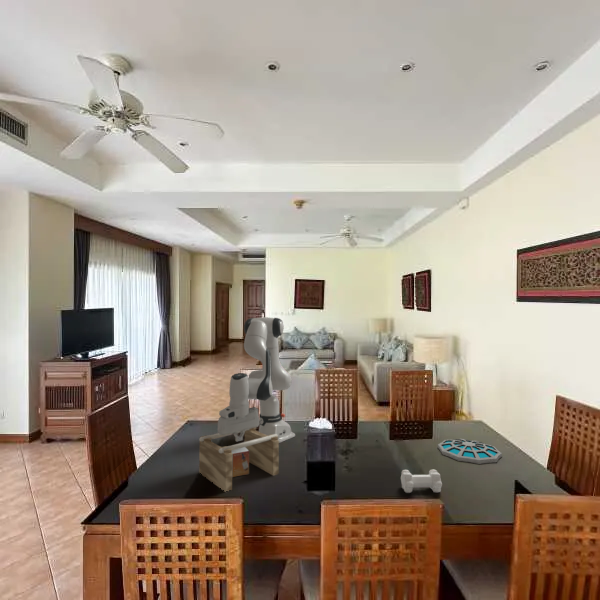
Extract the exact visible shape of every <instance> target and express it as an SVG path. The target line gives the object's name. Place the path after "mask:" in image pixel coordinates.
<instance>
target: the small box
mask: <svg viewBox="0 0 600 600" xmlns="http://www.w3.org/2000/svg"><path fill="white" fill-rule="evenodd" d="M231 453H232V478H234V477H239V476H245V475H249V474H250V462H249V450H248V449H247V448H246V447H243V448H239V449H236V450H232V451H231Z"/></svg>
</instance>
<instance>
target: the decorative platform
mask: <svg viewBox="0 0 600 600" xmlns="http://www.w3.org/2000/svg"><path fill="white" fill-rule="evenodd" d="M437 449H438V450H439V451H440V452H441V455H442V456H446V457H448V458H450V459H454V460H456V461H457V462H464V463H465V462H466V463H471V464H477V465H481V464H490V463H491V464H493V463H494V464H495V463H497V462H498V461H499V460H500V459H501V458H503V453H502V452H501V451H499V450H498V448H496V447H495V446H493V445H490V444H487V443H484V442H482V441H479V440H471V439H464V438H458V439H457V438H455V439H454V438H453V439H444V440H443V441H441V442H439V443H438V444H437Z"/></svg>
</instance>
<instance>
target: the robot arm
mask: <svg viewBox="0 0 600 600" xmlns="http://www.w3.org/2000/svg"><path fill="white" fill-rule="evenodd" d="M284 326H285V325H284V322H283V320H282V319H281V318H280V317H279V318H278V317H267V316H264V317H250V318H248V319H246V320H245V322H244V325H243V331H244V334H245V338H244V341H243V342H244V343H243V348H244V351H245V353H246V354H247V355H248V356H250V357H251V358H253V359H256V360H258V361H260V363H261V364H262V366H261V367H262V369H256V370H252V371H250V373H249V375H248V374H247V373H243V372H238V373H234V374H232V375H231V376H230V382H229V397H230V399H229V405H228V406H227V407H225V408H222V409H221V410H220V411H219V412H218V414H219V416H220V417H219V418H218V420H217V433H219V434H220V435H226V434H230V433H233V434H232V435H233V436H234V440H235V442H240V441H243V440H244V436H245V430H247V429H252V428H256V429H257V428H258V427H259V428H258V432H260V433H263V434H265V435H271V434H277V435H278V440H279V444H280V443H283V442H284V441H287V440H290V439H292V438H294V437H296V433H295V432H293V431H292V428H291V425H290V424H289V423H288V422H286V421H285V420H283V419H284V418H285V417H286V414H285V413H281V412H280V400H279V398H278V397H277V396H276V395H274V394H273V391H285V390H288V389H290V387H291V385H292V380H293V379H292V375H291V374H290V373H289V372H288V371H287V370H286V369H285V368H284V367H283V365H282V363H281V360H280V352H279V337H281V336H282V335H283V333H284ZM249 400H259V408H258V407H256V406H253V407H250V401H249ZM282 418H283V419H282ZM239 431H240V433H238V432H239Z"/></svg>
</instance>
